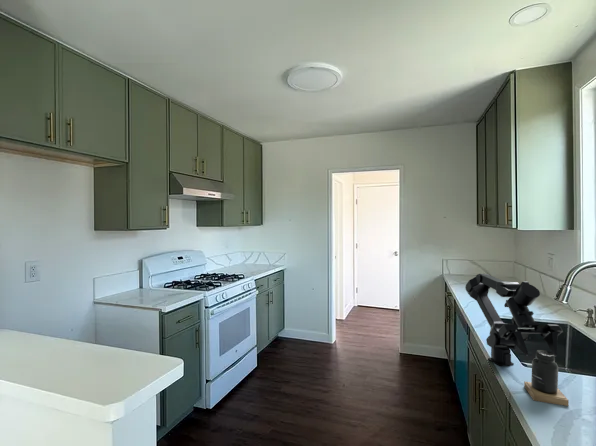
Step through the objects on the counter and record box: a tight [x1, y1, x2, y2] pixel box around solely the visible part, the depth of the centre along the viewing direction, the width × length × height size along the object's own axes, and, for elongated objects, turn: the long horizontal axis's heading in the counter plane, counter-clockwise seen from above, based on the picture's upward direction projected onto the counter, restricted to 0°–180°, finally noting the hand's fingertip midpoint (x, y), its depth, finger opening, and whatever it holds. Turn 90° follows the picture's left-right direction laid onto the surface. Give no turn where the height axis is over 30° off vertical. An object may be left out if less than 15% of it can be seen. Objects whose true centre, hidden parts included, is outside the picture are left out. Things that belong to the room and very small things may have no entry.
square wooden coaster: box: [523, 381, 569, 407], centre depth 105 cm, size 9×9×2 cm
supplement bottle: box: [530, 349, 559, 394], centre depth 105 cm, size 7×7×12 cm
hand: (541, 355), depth 107 cm, fingers open, 9 cm apart
